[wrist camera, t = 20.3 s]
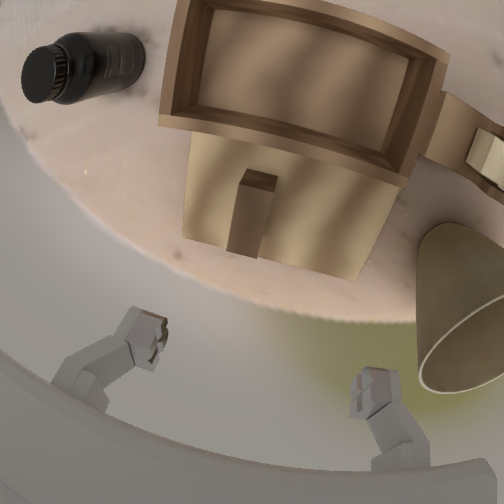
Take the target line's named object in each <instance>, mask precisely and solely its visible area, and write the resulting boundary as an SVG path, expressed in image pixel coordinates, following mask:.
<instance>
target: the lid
mask: <svg viewBox="0 0 504 504" xmlns="http://www.w3.org/2000/svg"><path fill="white" fill-rule="evenodd" d="M399 190H400V188H399V187H397V186H394V185H391V184H389V183H386V182H383V181H380V180H378V179H375V178H372V177H369V176H366V175H363V174H360V173H357V172H355V171H351V170H348V169H345V168H342V167H339V166H336V165H333V164H329V163H326V162H323V161H319V160H316V159H312V158H309V157H305V156H302V155H298V154H294V153H291V152H287V151H283V150H279V149H275V148H271V147H267V146H263V145H259V144H254V143H250V142H245V141H241V140H236V139H231V138H227V137H221V136H216V135H211V134H206V133H200V132H194V131H192V136H191V144H190V152H189V161H188V170H187V180H186V190H185V201H184V213H183V226H182V237H183V238H187V239H191V240H195V241H198V242H202V243H206V244H210V245H214V246H218V247H222V248H226V251H229V252H232V253H236V254H240V255H244V256H248V257H252V258H256V259H257V257H261V258H264V259H268V260H272V261H276V262H280V263H284V264H288V265H292V266H296V267H300V268H304V269H308V270H311V271H315V272H319V273H323V274H327V275H331V276H335V277H339V278H343V279H347V280H351V281H355V280H356V278H357V276H358V275H359V273H360V271H361V269H362V267H363V265H364V263H365V261H366V259H367V258H368V256H369V254H370V252H371V250H372V248H373V246H374V244H375V242H376V240H377V238H378V236H379V234H380V232H381V230H382V228H383V225H384V223H385V221H386V219H387V217H388V215H389V213H390V211H391V208H392V206H393V204H394V202H395V199H396V197H397V195H398V193H399Z"/></svg>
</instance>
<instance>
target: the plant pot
mask: <svg viewBox="0 0 504 504" xmlns="http://www.w3.org/2000/svg"><path fill="white" fill-rule="evenodd" d="M416 327H417V348H418V372H419V373H418V374H419V381H420V383H421V385H422V386H423V387H424V388H426V389H427V390H429V391H431V392H435V393H440V394H453V393H460V392H464V391H469V390H472V389H475V388H477V387H480V386H483V385H485V384H487V383H489V382H491V381H493V380H495V379H497V378H498V377H500V376H502V375H503V374H504V249H503V248H502V247H501V246H499V245H498V244H496V243H495V242H493V241H492V240H490V239H488V238H487V237H485V236H483V235H482V234H480V233H478V232H476V231H474V230H471V229H469V228H467V227H464V226H462V225H459V224H456V223H443V224H440V225H438V226H436V227H434V228H433V229H431V230H430V231H429V232H428V233H427V234H426V235H425V237H424V238H423V240H422V242H421V244H420V246H419V251H418V261H417V278H416Z"/></svg>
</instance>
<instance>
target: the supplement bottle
mask: <svg viewBox="0 0 504 504" xmlns="http://www.w3.org/2000/svg"><path fill="white" fill-rule="evenodd" d="M143 62H144V53H143V48H142V46H141V44H140V42H139V41H138V40H137V39H136V38H135V37H134V36H132V35H130V34H126V33H117V32H75V33H69V34H66V35H64V36H62V37H61V38H59V39H58V40H57V41H55V42H54V43H53V44H51V45H48V46H42V47H39V48H36V49H35V50H33V51H32V53H30V54H29V56H28V57H27V59H26V61H25V62H24V66H23V70H22V75H21V84H22V89H23V93H24V95H25V96H26V98H27V99H28V100H29V101H30V102H32V103H36V104H37V103H42V102H45V101H51V100H52V101H54V102H56V103H58V104H62V105H69V104H74V103H77V102H80V101H83V100H87V99H90V98H93V97H97V96H101V95H104V94H108V93H112V92H116V91H119V90H122V89H124V88H126V87H128V86H129V85H131V84H132V83H133V82H134V81H135V80H136V79H137V77H138V76H139V74H140V72H141V70H142V67H143Z"/></svg>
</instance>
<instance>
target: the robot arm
mask: <svg viewBox="0 0 504 504" xmlns="http://www.w3.org/2000/svg"><path fill="white" fill-rule="evenodd" d="M167 323H168V321H167V318H165V317H162V316H159V315H157V314H154V313H151V312H148V311H145V310H143V309H140V308H137V307H134V306H132V307H131V308H129V310H128V311H127V313H126V315H125V316H124V318H123V320H122V321H121V323H120V324H119V326H118V328H117V330H116V331H115V333H114V335H113V336H111V335H109V336H107V337H105V338H103V339H101V340H99V341H97V342H96V343H93V344H91V345H89V346H88V347H86V348H84V349H82V350H80V351H78V352H76V353H74V354H72V355H70V356H69V357H67V358H65V359H64V361H63V363H62V364H61V366H60V368H59V369H58V371H57V373H56V375H55V376H54V378H53V380H52V381H51V383H49V382H47V381H46V380H44V379H43V378H41V377H39V376H38V375H36V374H35V373H33V372H32V371H30V370H29V369H27V368H26V367H25V366H23V365H22V364H20V363H19V362H17V361H16V360H15V359H13V358H12V357H11V356H9V355H8V354H7V353H5V352H4V351H3V350H2V349H0V504H497V478H496V475H495V473H494V471H493V469H492V468H491V466H490V465H489V463H488V462H487V461H486V459H484V458H477V459H472V460H468V461H463V462H458V463H452V464H447V465H441V466H434V467H431V466H430V445H429V440H428V438H427V437H426V435H425V434H424V432H423V431H422V429H421V428H420V426H419V425H418V423H417V422H416V420H415V419H414V417H413V416H412V414H411V413H410V411H409V410H408V408H407V407H406V405H405V404H402V396H401V387H400V378H399V373H398V371H396V370H390V369H385V368H377V367H370V366H366V367H364V368H363V369H362V373H361V374H359V375H356V376H355V378H354V379H353V381H352V383H351V387H350V396H351V397H352V399H353V401H352V402H351V403H350V418H358V419H367V420H366V421H367V423H368V425H369V427H370V429H371V431H372V433H373V435H374V437H375V440H376V442H377V444H378V446H379V448H380V450H381V452H382V454H380V455H378V456H376V457H374V458H373V459H372V460H371V471H370V472H352V471H326V470H313V469H302V468H293V467H285V466H277V465H271V464H265V463H259V462H254V461H249V460H244V459H239V458H234V457H229V456H225V455H222V454H217V453H214V452H210V451H206V450H202V449H199V448H195V447H192V446H188V445H185V444H182V443H179V442H176V441H173V440H170V439H167V438H164V437H161V436H159V435H156V434H153V433H151V432H148V431H145V430H143V429H140V428H138V427H135V426H133V425H130V424H128V423H126V422H123V421H121V420H119V419H117V418H114V417H112V416H110V415H108V414H106V413H105V411H106V409H107V407H108V404H109V402H110V401H109V398H108V397H107V395H106V393H105V392H104V390H103V389H104V388H105V387H106V386H108V385H109V384H111V383H112V382H113V381H115V380H117V379H118V378H120V377H121V376H122V375H124V374H125V373H126V372H128V371H129V370H131V369H132V368H134V367H135V366H137V367H140V368H143V369H146V370H149V371H152V372H154V370H155V368H156V365H157V363H158V361H159V353H160V352H162V351H163V350H164V348H165V345H166V342H167V338H168V329H167V328H166V326H167Z"/></svg>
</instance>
